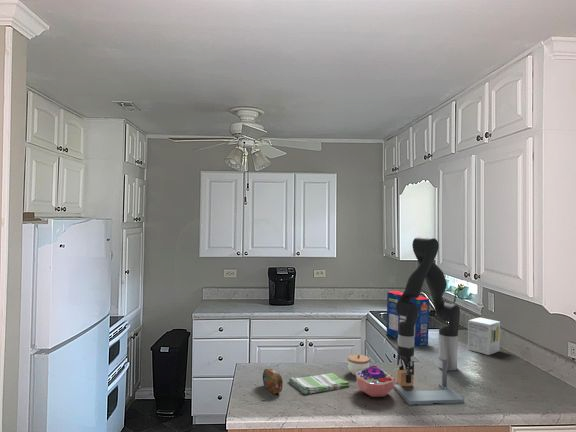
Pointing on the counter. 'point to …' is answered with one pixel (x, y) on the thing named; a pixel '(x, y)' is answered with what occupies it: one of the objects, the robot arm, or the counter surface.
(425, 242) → the robot arm
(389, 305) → the blue cardboard box
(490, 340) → the supplement box
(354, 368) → the lidded jar
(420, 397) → the screw clamp
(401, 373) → the tan wooden brick
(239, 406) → the counter surface
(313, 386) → the dish towel
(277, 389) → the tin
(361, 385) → the cell model
